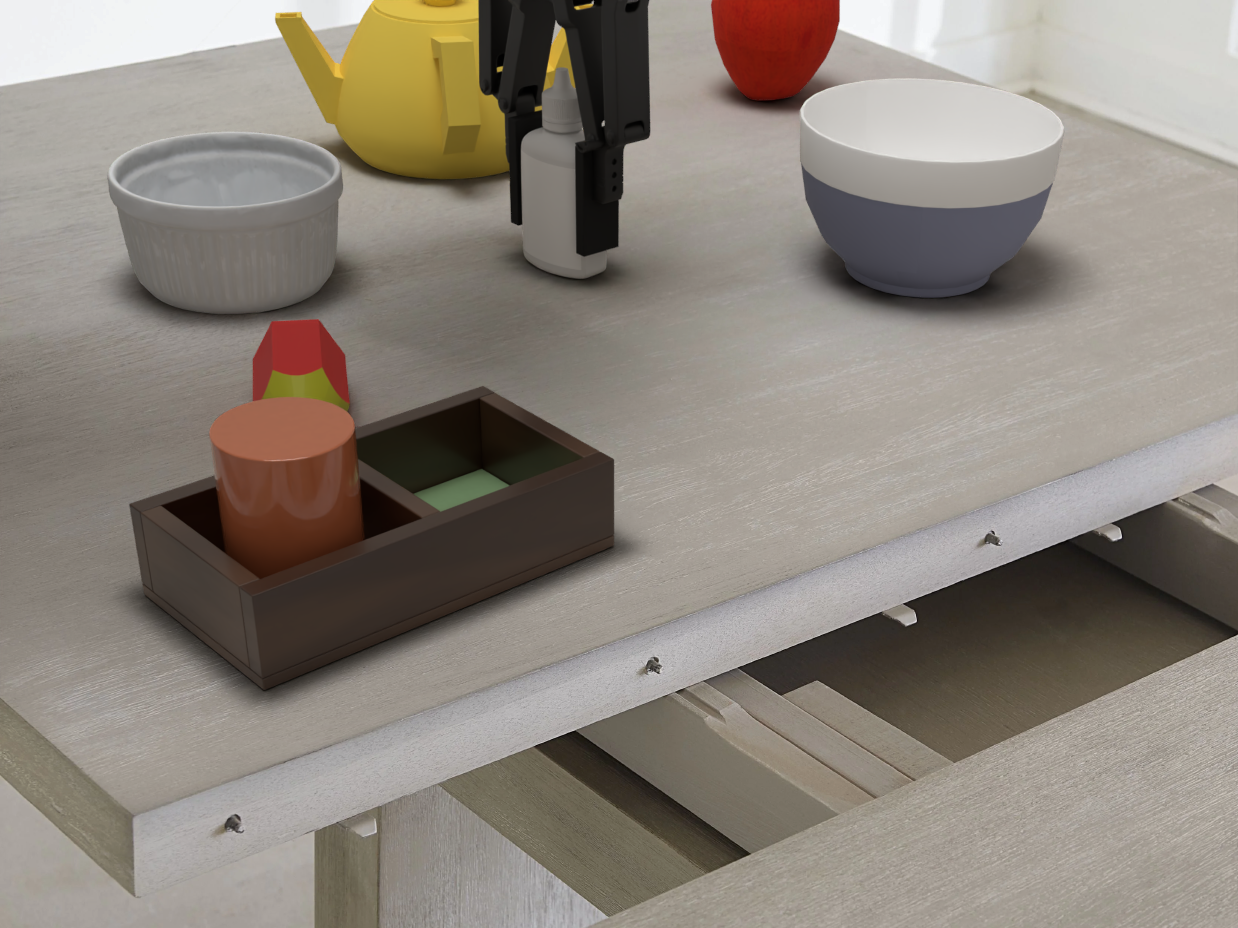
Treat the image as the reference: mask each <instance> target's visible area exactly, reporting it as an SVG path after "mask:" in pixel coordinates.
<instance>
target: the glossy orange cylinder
mask: <svg viewBox="0 0 1238 928" xmlns="http://www.w3.org/2000/svg"><path fill="white" fill-rule="evenodd" d="M355 428H356V423H355V420H354V418H353V417H352V415H351V414H350V413H349V412H347V411H345V410H344V409H343V408H341V407H339V406H337V405H334V404H332V403H329V402H326V401H322V400H317V399H311V398H301V397H279V398H269V399H262V400H257V401H253V400H252V401H249V402H246V403H243V404H239V405H236V406H235V407H232V408H230V409H228V410H226V411H224V412H223V413H221V414H220V415H219V416H218V417H217V418H216V419H214V421H213V422H212V423H211V425H210V428H209V432H208V438H209V446H210V453H211V460H212V466H213V468H212V469H213V476H214V475H215V483H216V490H217V498H218V505H219V512H220V520H221V527H222V535H223V542H224V549H225V553H226V554H227V555H228V556H230V557H231V558H232V559H234V560H235V561H236V562H238V563H239V564H241V565H242V566H243V567H245V568H246V569H247V570H249V571H250V572H251V573H253V574H254V575H255V576H257V577H258V578H259V579H262V578H265V577H267V576H270V575H273V574H275V573H278V572H281V571H283V570H286V569H289V568H291V567H294V566H297V565H299V564H302V563H305V562H307V561H310V560H313V559H315V558H318V557H321V556H323V555H326V554H329V553H331V552H334V551H337V550H339V549H342V548H345V547H347V546H350V545H353V544H355V543H358V542H361V541H363V540H365V534H364V522H363V511H362V499H361V488H360V476H359V464H358V453H357V441H356V430H355Z"/></svg>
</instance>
